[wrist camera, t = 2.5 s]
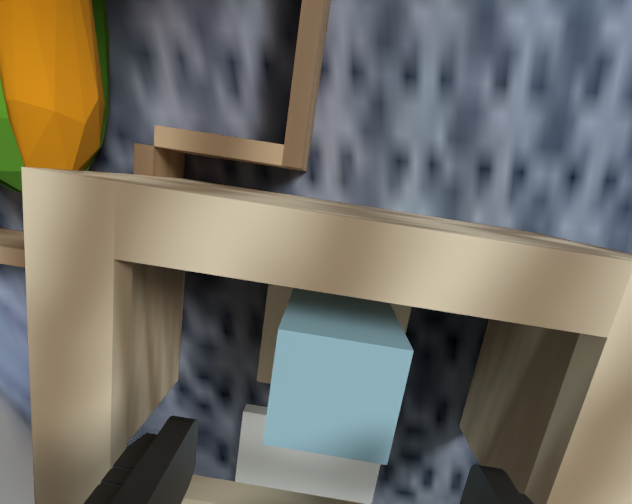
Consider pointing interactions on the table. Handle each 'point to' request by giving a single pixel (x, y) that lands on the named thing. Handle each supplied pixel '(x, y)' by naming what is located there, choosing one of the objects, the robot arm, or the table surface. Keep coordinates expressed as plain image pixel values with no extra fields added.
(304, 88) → the corn rack
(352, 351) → the block
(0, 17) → the corn
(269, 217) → the frame
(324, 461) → the tile
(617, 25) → the table surface
